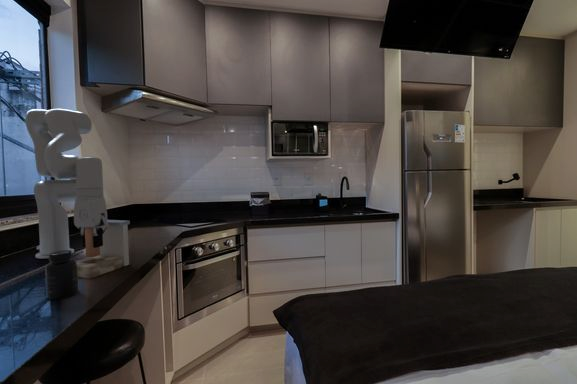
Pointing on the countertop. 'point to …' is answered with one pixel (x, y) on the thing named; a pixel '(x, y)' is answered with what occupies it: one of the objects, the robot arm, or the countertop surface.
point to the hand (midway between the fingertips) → (92, 245)
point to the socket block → (97, 265)
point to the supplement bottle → (61, 275)
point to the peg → (90, 243)
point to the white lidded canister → (116, 240)
